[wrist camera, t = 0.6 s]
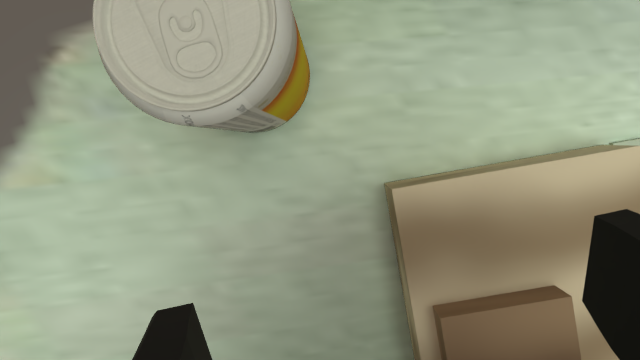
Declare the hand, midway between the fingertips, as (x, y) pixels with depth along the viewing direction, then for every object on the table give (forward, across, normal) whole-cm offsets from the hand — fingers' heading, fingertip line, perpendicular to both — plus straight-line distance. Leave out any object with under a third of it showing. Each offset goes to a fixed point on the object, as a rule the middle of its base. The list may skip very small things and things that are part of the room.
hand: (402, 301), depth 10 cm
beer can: (+23, +2, +4) cm, 23 cm away
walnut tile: (+10, -7, +16) cm, 21 cm away
